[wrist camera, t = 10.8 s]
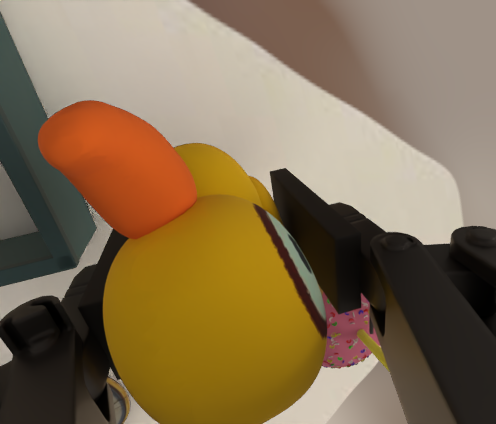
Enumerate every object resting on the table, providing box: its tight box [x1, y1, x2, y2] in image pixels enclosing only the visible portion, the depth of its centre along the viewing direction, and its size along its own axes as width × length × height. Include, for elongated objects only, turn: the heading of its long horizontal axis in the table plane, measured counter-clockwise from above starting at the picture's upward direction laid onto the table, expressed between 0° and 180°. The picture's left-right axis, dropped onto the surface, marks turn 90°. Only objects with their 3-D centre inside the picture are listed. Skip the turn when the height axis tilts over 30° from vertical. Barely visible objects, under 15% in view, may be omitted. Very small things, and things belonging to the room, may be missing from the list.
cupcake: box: [318, 285, 390, 372], centre depth 23 cm, size 9×8×12 cm
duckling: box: [38, 100, 327, 424], centre depth 10 cm, size 11×5×10 cm, turn 26°
